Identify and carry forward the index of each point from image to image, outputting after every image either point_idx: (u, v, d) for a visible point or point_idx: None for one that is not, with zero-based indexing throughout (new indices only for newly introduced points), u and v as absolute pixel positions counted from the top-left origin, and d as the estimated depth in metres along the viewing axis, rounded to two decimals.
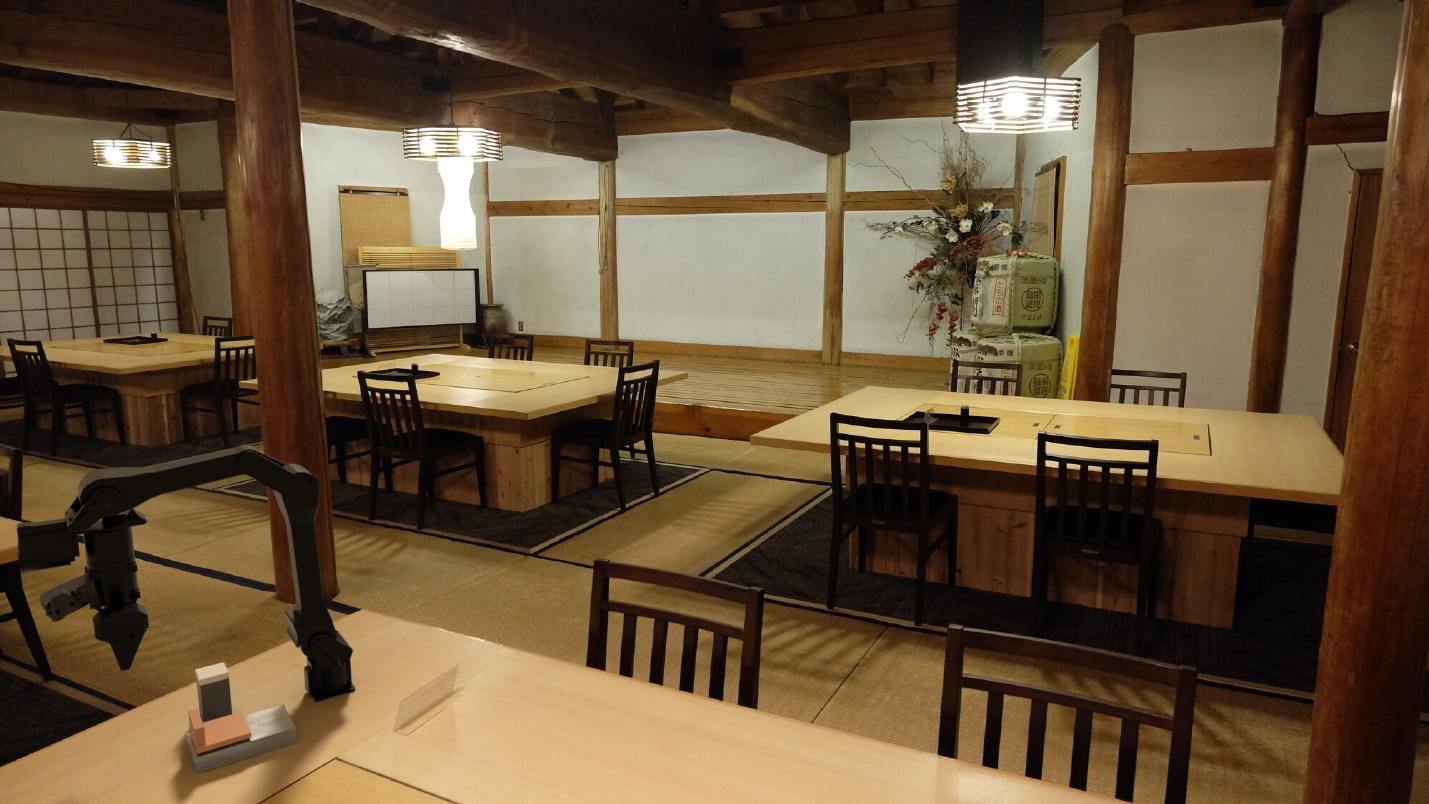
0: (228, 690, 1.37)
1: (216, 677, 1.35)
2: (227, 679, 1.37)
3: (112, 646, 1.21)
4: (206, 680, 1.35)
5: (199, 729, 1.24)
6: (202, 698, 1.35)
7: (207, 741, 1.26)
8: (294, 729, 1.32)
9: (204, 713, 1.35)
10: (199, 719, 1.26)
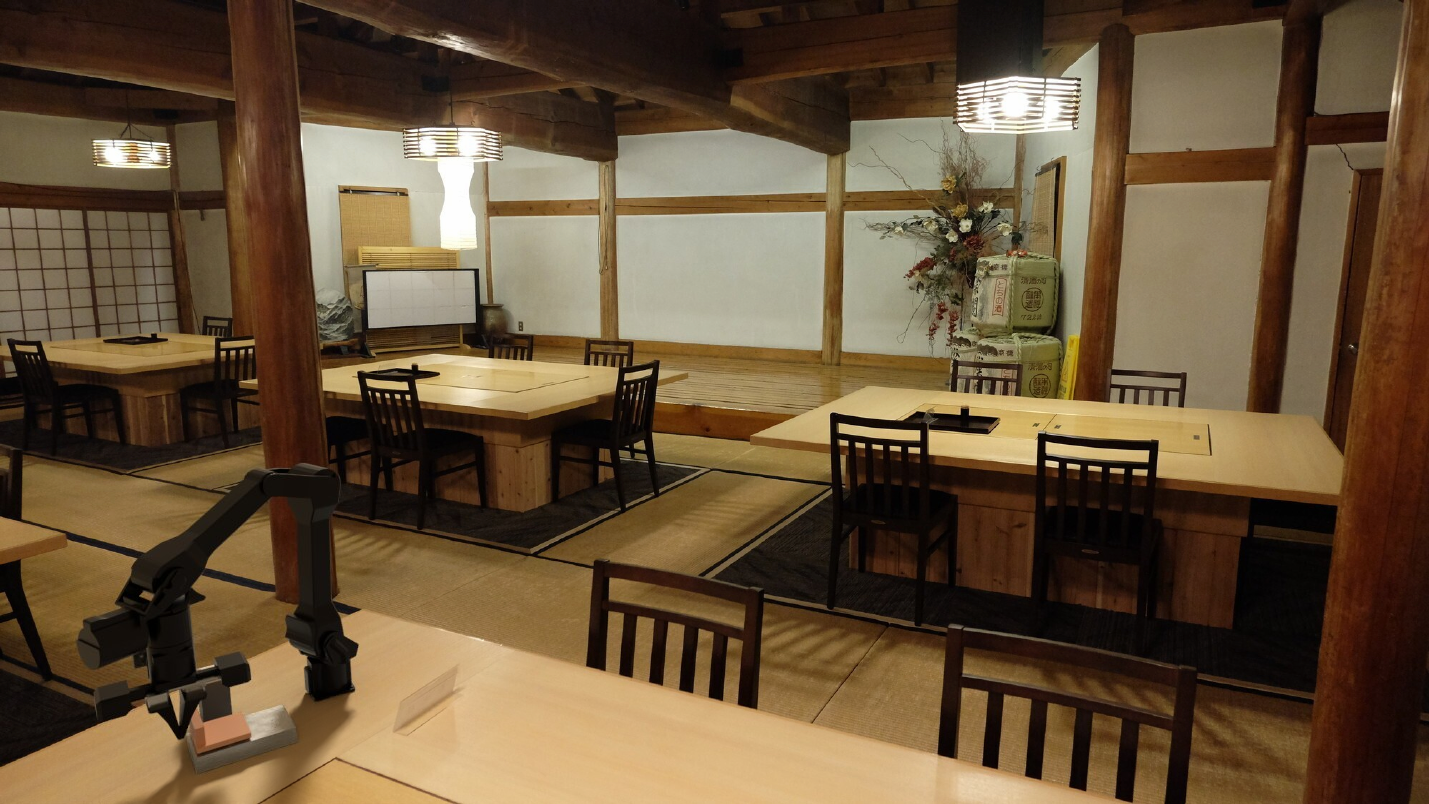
0: (228, 690, 1.37)
1: None
2: None
3: None
4: None
5: (199, 729, 1.24)
6: None
7: (207, 741, 1.26)
8: (294, 729, 1.32)
9: (204, 713, 1.35)
10: (199, 719, 1.26)
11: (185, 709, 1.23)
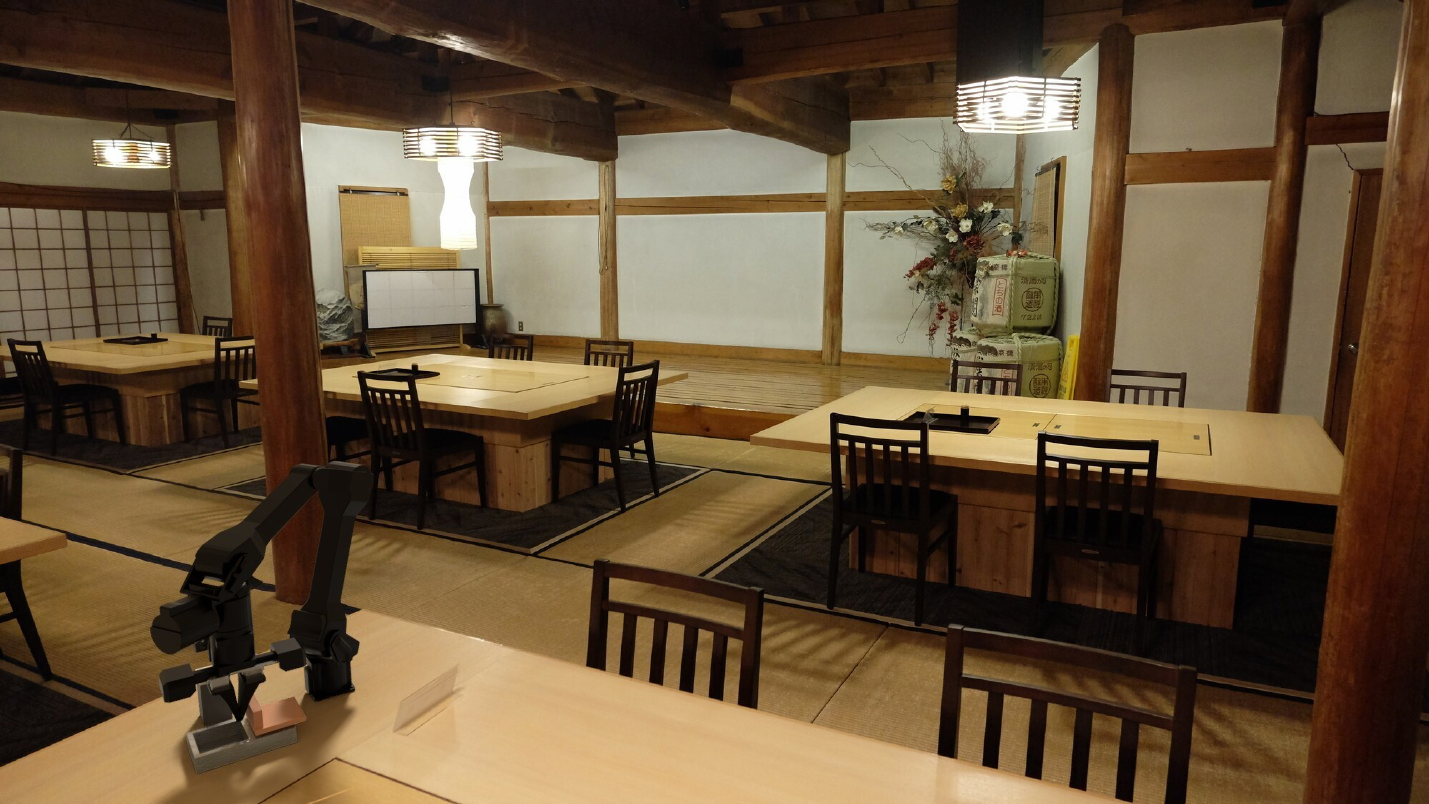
0: None
1: None
2: None
3: None
4: None
5: (257, 712, 1.29)
6: (202, 698, 1.35)
7: (264, 724, 1.30)
8: (294, 729, 1.32)
9: (204, 713, 1.35)
10: (256, 703, 1.31)
11: (245, 692, 1.28)
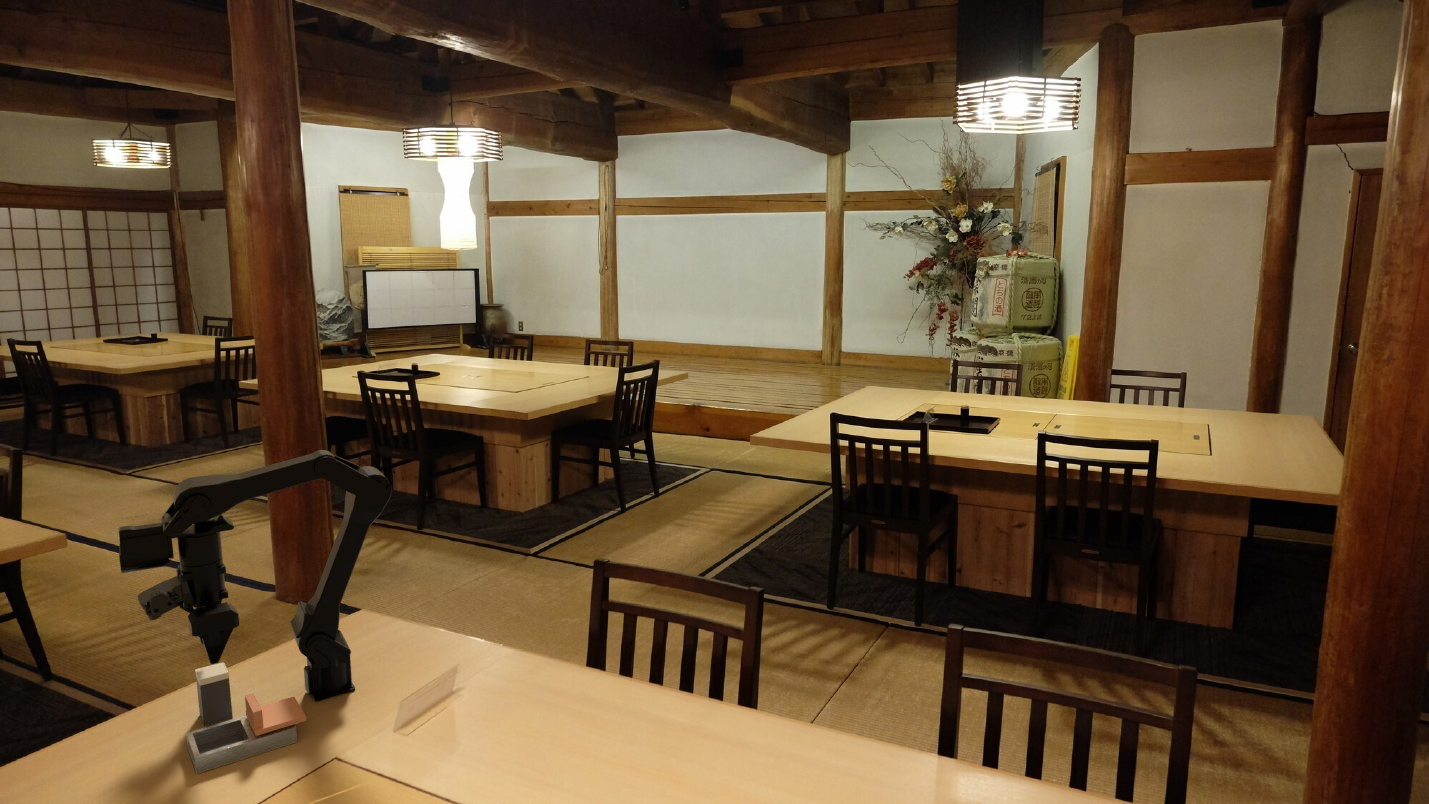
0: (228, 690, 1.37)
1: (216, 677, 1.35)
2: (227, 679, 1.37)
3: (204, 641, 1.30)
4: (206, 680, 1.35)
5: (257, 712, 1.29)
6: (202, 698, 1.35)
7: (264, 724, 1.30)
8: (294, 729, 1.32)
9: (204, 713, 1.35)
10: (256, 703, 1.31)
11: None
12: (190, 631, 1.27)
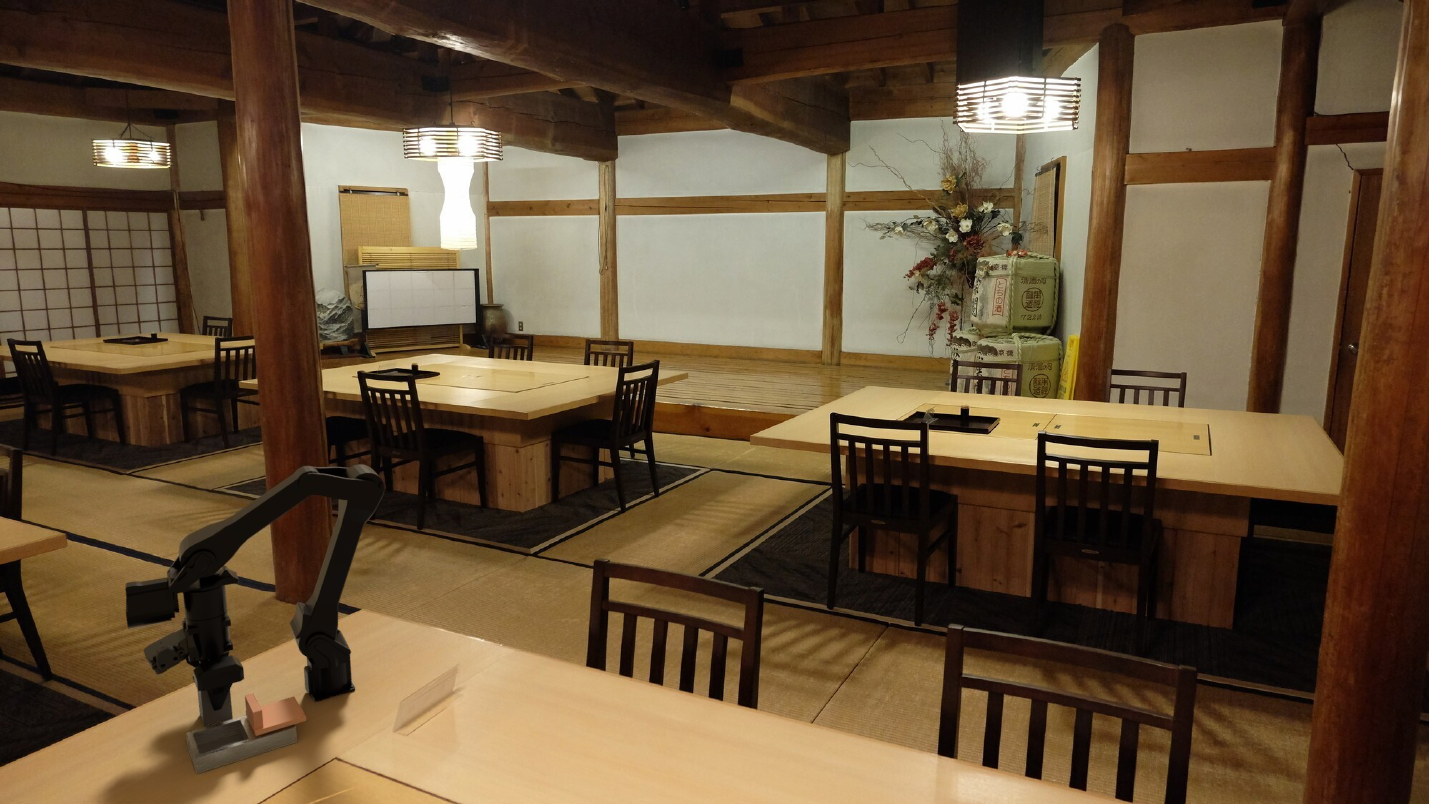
0: None
1: None
2: None
3: None
4: None
5: (257, 712, 1.29)
6: (202, 698, 1.35)
7: (264, 724, 1.30)
8: (294, 729, 1.32)
9: (204, 713, 1.35)
10: (256, 703, 1.31)
11: None
12: (196, 685, 1.29)
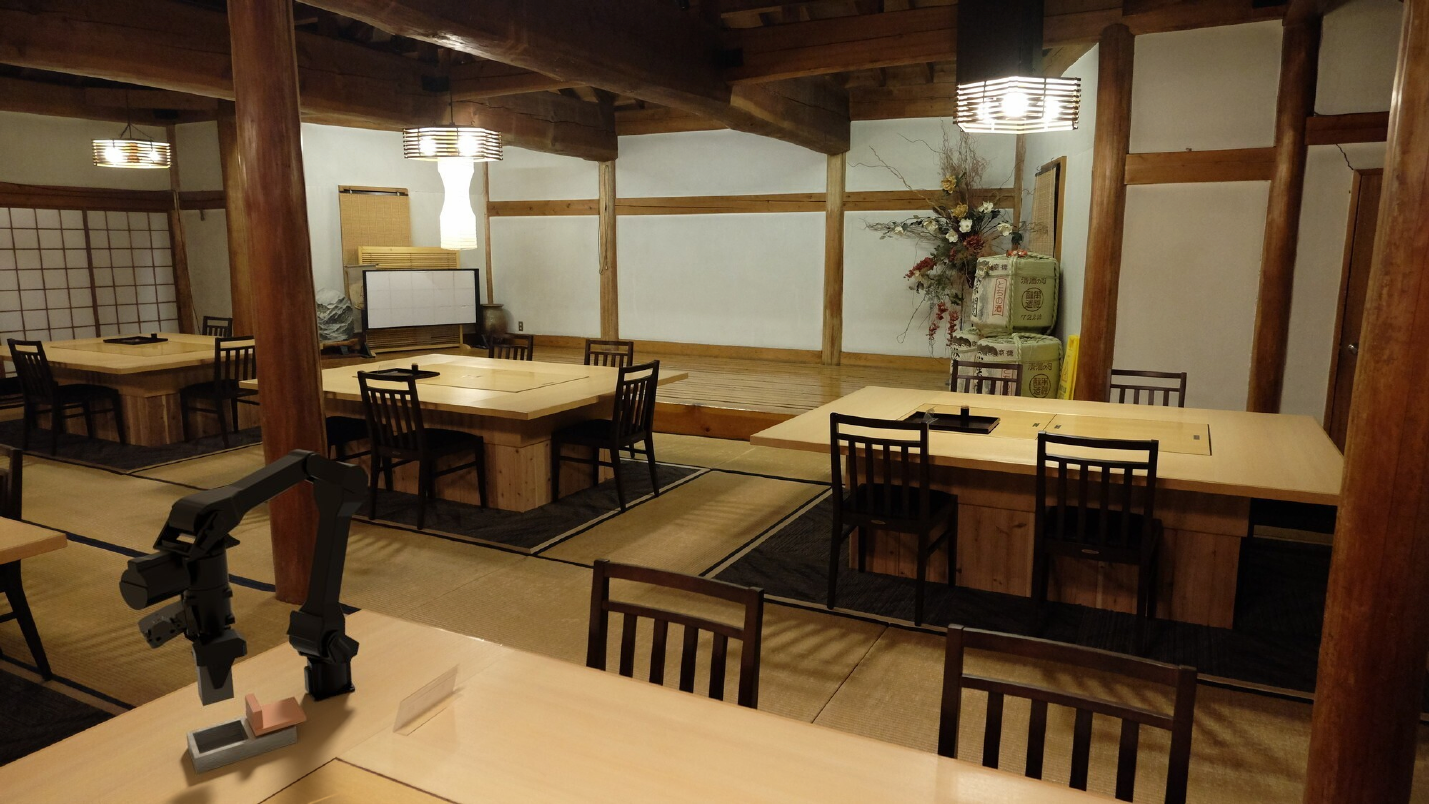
0: None
1: None
2: None
3: (207, 665, 1.23)
4: None
5: (257, 712, 1.29)
6: (201, 675, 1.24)
7: (264, 724, 1.30)
8: (294, 729, 1.32)
9: (203, 692, 1.25)
10: (256, 703, 1.31)
11: None
12: None
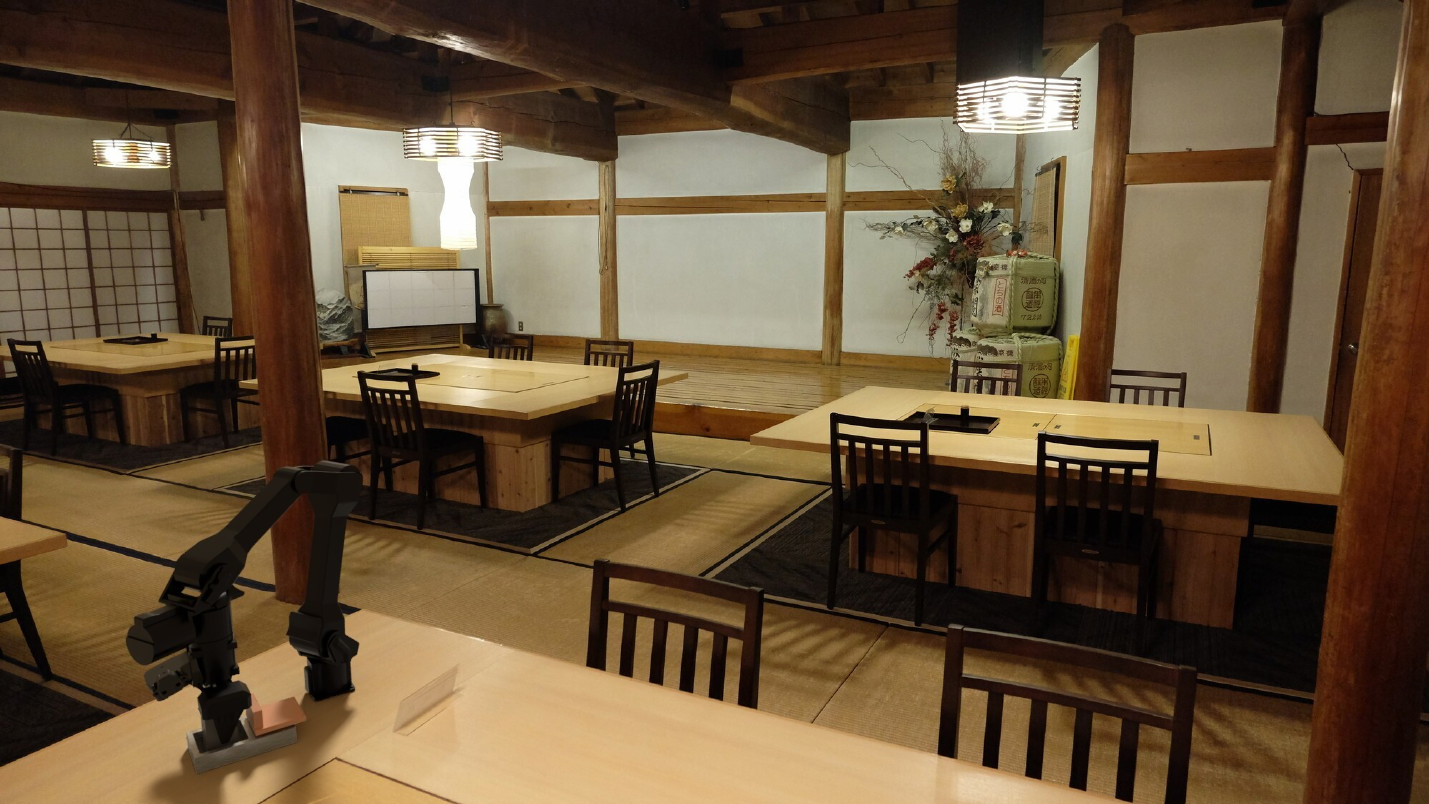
0: None
1: None
2: None
3: (214, 721, 1.23)
4: None
5: (257, 712, 1.29)
6: (207, 731, 1.26)
7: (264, 724, 1.30)
8: (294, 729, 1.32)
9: (209, 747, 1.26)
10: (256, 703, 1.31)
11: None
12: (200, 714, 1.20)
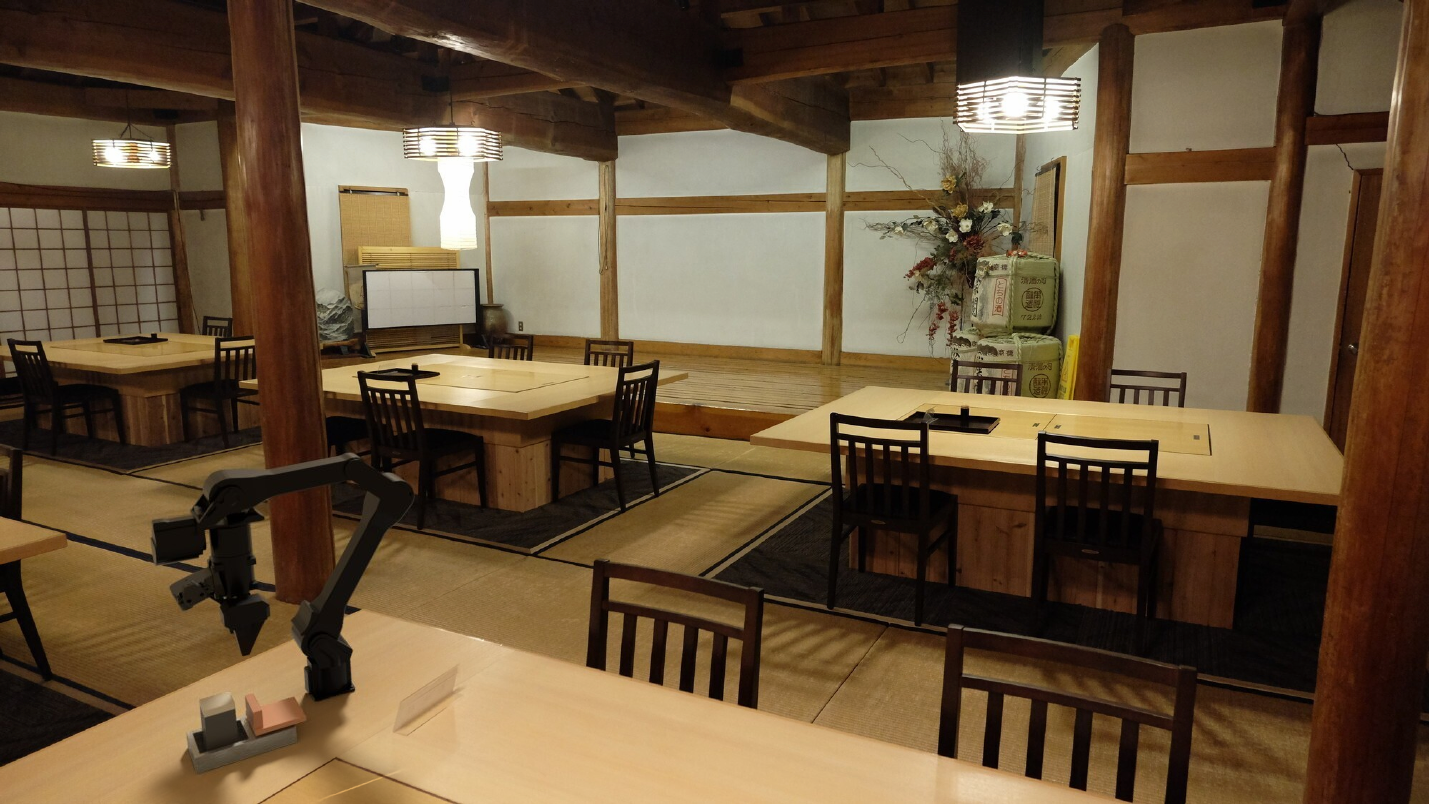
0: (234, 721, 1.28)
1: (221, 708, 1.26)
2: (233, 710, 1.27)
3: (236, 633, 1.31)
4: (211, 711, 1.26)
5: (257, 712, 1.29)
6: (207, 731, 1.26)
7: (264, 724, 1.30)
8: (294, 729, 1.32)
9: (209, 747, 1.26)
10: (256, 703, 1.31)
11: None
12: (222, 621, 1.28)
